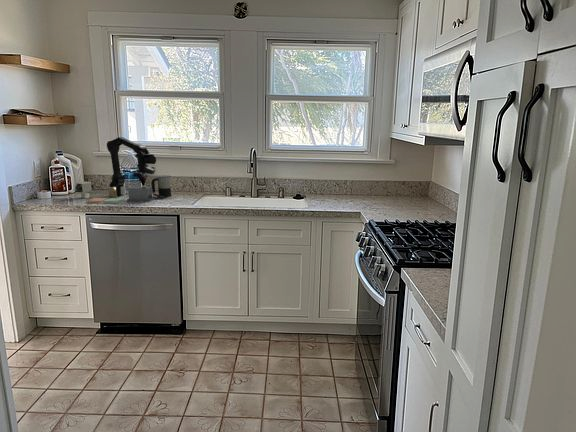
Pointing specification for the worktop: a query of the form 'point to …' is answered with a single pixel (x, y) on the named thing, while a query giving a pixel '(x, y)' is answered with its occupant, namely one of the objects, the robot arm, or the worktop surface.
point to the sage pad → (114, 200)
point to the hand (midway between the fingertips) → (143, 185)
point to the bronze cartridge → (112, 192)
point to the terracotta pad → (96, 200)
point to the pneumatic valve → (84, 188)
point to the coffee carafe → (162, 186)
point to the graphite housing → (140, 194)
